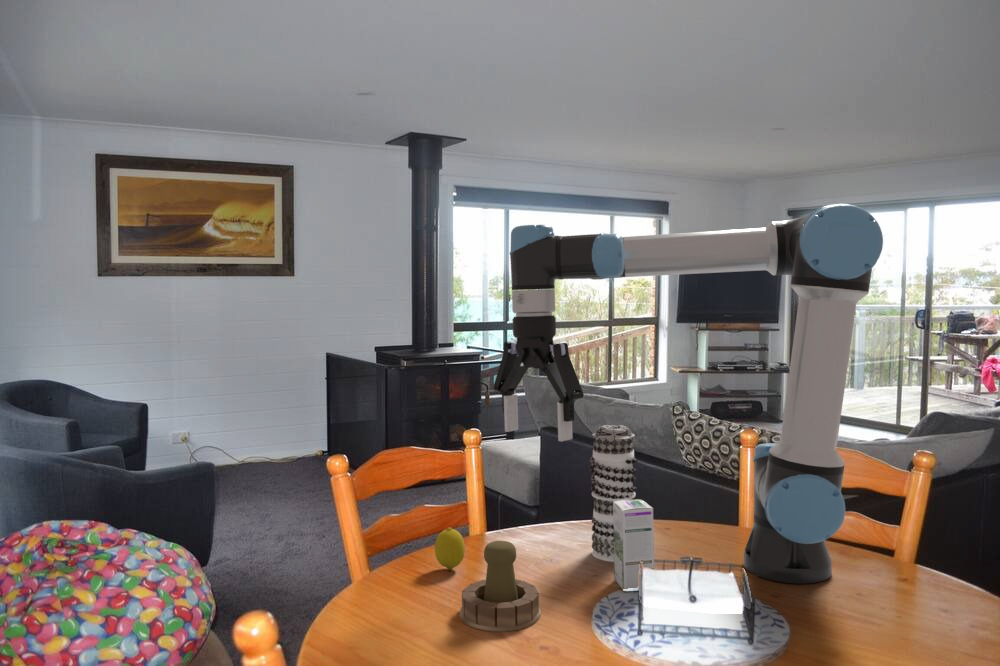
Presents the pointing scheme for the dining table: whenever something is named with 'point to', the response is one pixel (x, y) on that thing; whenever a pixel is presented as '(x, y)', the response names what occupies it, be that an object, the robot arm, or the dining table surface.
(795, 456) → the robot arm
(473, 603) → the collar
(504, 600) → the olive green knobbed peg
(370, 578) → the dining table surface
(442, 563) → the lemon
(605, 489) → the decorative candle
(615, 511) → the syrup box
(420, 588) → the dining table surface
